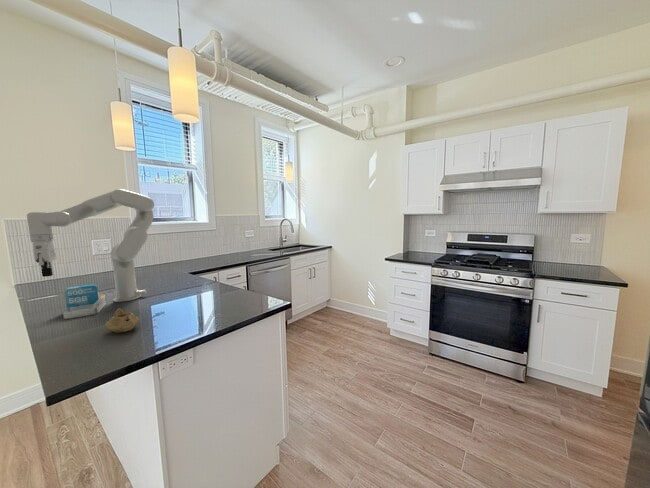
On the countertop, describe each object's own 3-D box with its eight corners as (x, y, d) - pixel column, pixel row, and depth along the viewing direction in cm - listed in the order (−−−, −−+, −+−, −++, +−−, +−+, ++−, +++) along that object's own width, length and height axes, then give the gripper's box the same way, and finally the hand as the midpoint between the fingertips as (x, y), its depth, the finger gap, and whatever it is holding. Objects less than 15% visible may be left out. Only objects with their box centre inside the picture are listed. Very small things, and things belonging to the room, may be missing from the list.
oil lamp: (119, 339, 100) (116, 319, 99) (99, 332, 107) (97, 313, 106) (149, 328, 110) (147, 309, 109) (130, 322, 117) (128, 304, 116)
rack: (105, 303, 145) (104, 294, 145) (97, 313, 129) (96, 303, 129) (76, 307, 140) (75, 297, 139) (64, 319, 123) (62, 307, 123)
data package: (67, 313, 131) (64, 289, 130) (68, 311, 134) (64, 288, 133) (99, 307, 139) (96, 284, 138) (99, 305, 142) (96, 283, 141)
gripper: (46, 238, 123) (52, 277, 125) (58, 236, 136) (63, 272, 138) (23, 239, 119) (29, 280, 121) (38, 238, 132) (43, 274, 134)
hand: (47, 276), depth 130 cm, fingers closed
